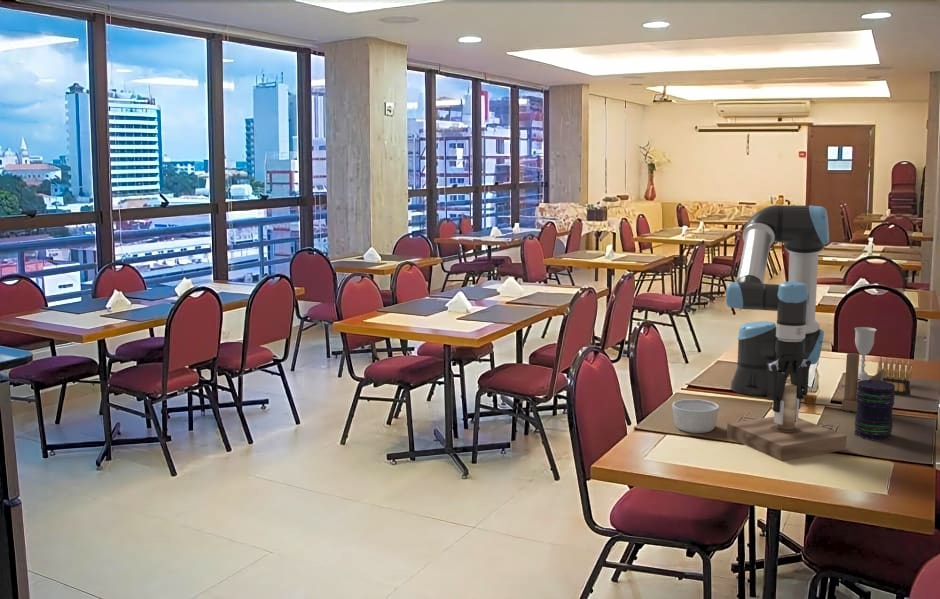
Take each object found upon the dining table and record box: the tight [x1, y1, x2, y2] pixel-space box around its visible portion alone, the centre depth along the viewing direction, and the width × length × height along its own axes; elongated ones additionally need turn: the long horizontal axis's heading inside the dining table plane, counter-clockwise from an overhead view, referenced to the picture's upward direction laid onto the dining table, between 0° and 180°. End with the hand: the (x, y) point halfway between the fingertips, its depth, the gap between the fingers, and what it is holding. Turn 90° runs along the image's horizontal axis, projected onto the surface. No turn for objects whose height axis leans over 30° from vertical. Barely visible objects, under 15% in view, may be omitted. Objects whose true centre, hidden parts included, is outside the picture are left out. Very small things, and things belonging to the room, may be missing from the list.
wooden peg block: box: [841, 352, 884, 413], centre depth 278 cm, size 4×11×18 cm, turn 53°
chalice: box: [853, 326, 877, 381], centre depth 320 cm, size 7×7×18 cm
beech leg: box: [777, 382, 797, 432], centre depth 249 cm, size 5×5×16 cm
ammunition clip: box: [876, 356, 912, 396], centre depth 301 cm, size 11×2×12 cm, turn 56°
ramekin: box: [671, 398, 720, 434], centre depth 264 cm, size 13×13×7 cm
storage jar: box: [854, 380, 896, 441], centre depth 256 cm, size 10×10×15 cm
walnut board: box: [726, 416, 847, 462], centre depth 250 cm, size 22×22×4 cm
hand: (785, 421), depth 249 cm, fingers closed on beech leg, 4 cm apart
